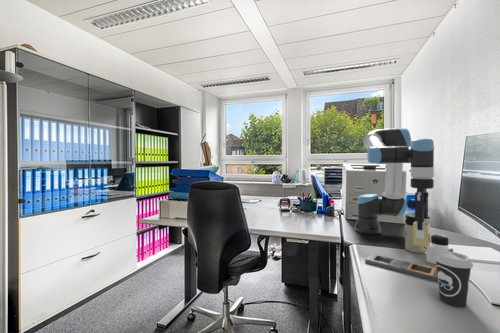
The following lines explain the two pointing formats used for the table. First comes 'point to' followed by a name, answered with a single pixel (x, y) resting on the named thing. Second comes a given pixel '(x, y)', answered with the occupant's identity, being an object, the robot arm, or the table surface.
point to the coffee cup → (453, 277)
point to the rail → (403, 266)
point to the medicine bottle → (437, 247)
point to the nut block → (421, 241)
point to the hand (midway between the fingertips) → (421, 236)
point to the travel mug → (411, 235)
